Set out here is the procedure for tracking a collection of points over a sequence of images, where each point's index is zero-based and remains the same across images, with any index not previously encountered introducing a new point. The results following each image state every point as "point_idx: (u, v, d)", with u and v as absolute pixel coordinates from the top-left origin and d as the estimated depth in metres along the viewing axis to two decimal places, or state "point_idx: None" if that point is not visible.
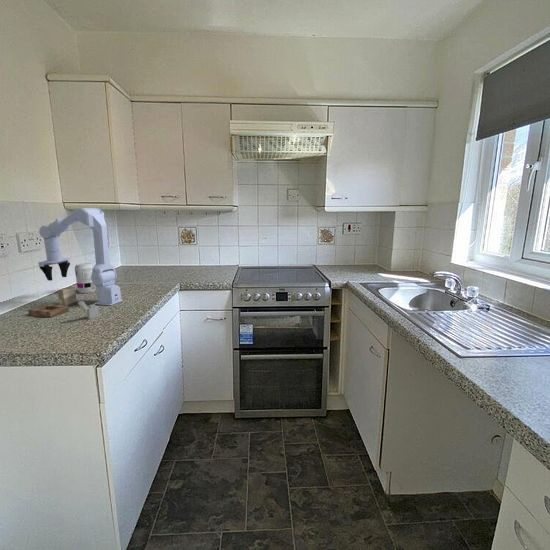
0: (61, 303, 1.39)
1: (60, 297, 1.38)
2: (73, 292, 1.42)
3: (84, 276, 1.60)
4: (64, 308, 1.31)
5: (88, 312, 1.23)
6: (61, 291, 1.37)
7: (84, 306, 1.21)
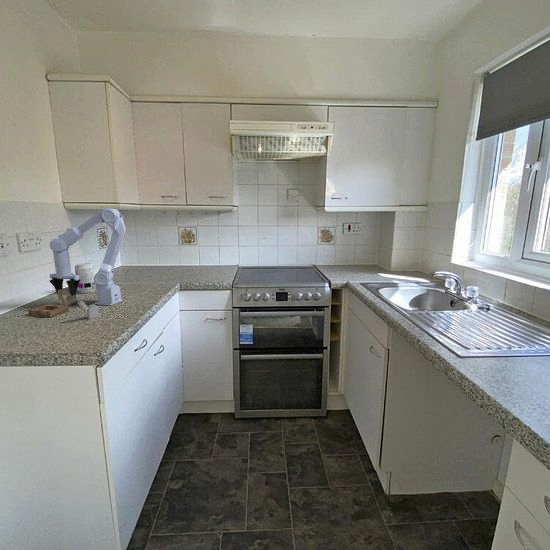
0: (61, 303, 1.39)
1: (60, 297, 1.38)
2: None
3: (84, 276, 1.60)
4: (64, 308, 1.31)
5: (88, 312, 1.23)
6: (61, 291, 1.37)
7: (84, 306, 1.21)
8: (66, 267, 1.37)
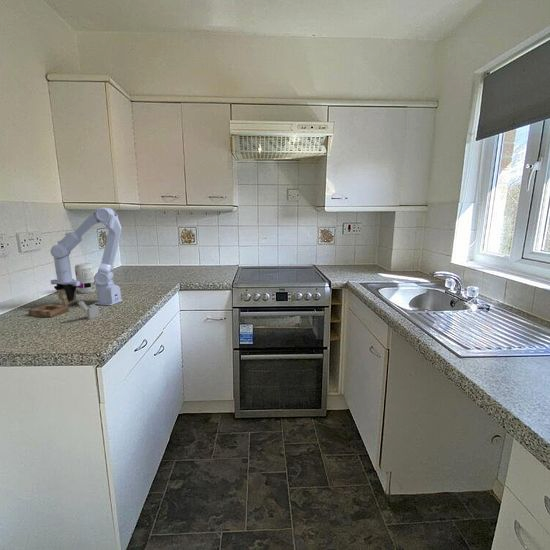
0: (61, 303, 1.39)
1: (60, 297, 1.38)
2: None
3: (84, 276, 1.60)
4: (64, 308, 1.31)
5: (88, 312, 1.23)
6: (61, 291, 1.37)
7: (84, 306, 1.21)
8: (67, 273, 1.37)
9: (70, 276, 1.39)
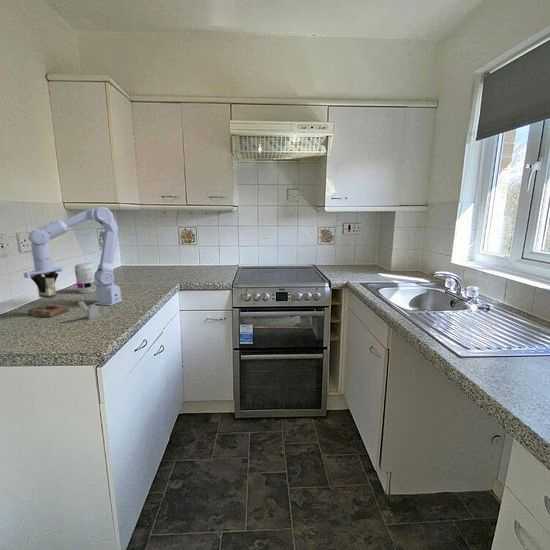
0: (51, 293, 1.28)
1: (50, 287, 1.28)
2: None
3: (84, 276, 1.60)
4: (64, 308, 1.31)
5: (88, 312, 1.23)
6: (51, 279, 1.28)
7: (84, 306, 1.21)
8: None
9: None
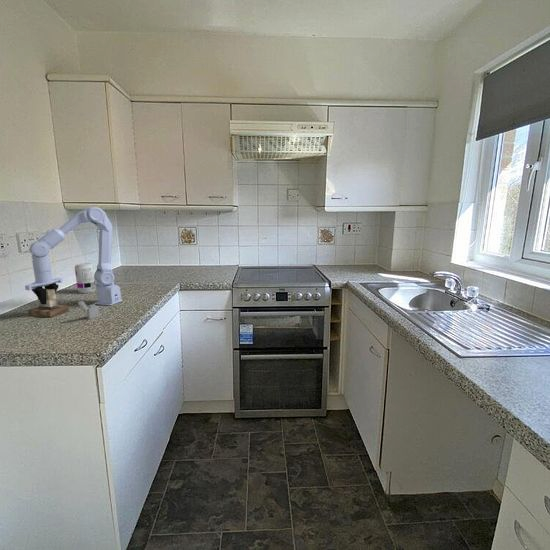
0: (52, 305, 1.29)
1: (51, 298, 1.28)
2: None
3: (84, 276, 1.60)
4: (64, 308, 1.31)
5: (88, 312, 1.23)
6: (52, 291, 1.29)
7: (84, 306, 1.21)
8: None
9: None
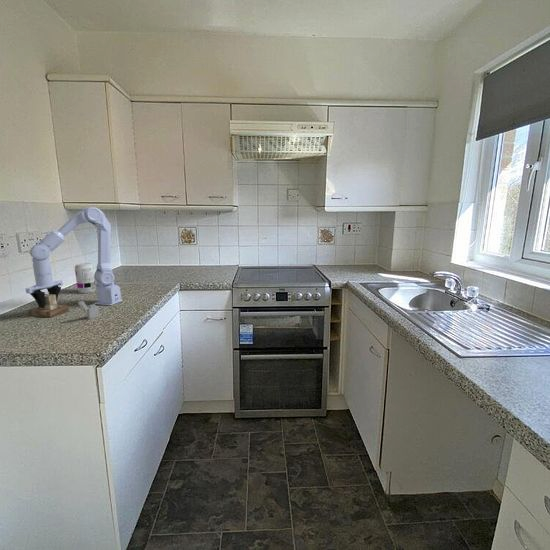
0: None
1: (52, 303, 1.29)
2: None
3: (84, 276, 1.60)
4: (64, 308, 1.31)
5: (88, 312, 1.23)
6: (53, 296, 1.29)
7: (84, 306, 1.21)
8: None
9: None
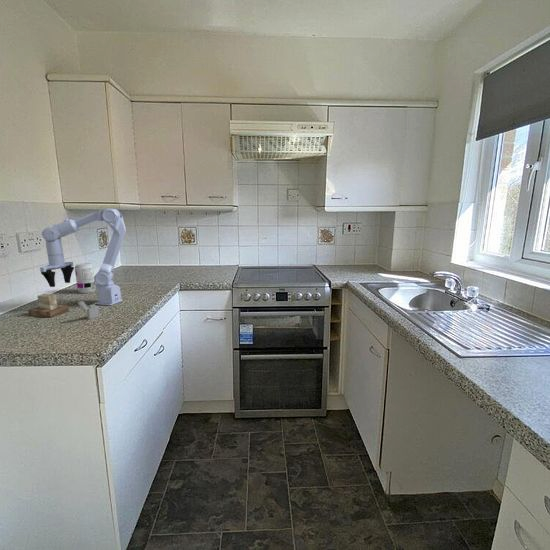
0: None
1: (52, 303, 1.29)
2: None
3: (84, 276, 1.60)
4: (64, 308, 1.31)
5: (88, 312, 1.23)
6: (53, 296, 1.29)
7: (84, 306, 1.21)
8: None
9: None
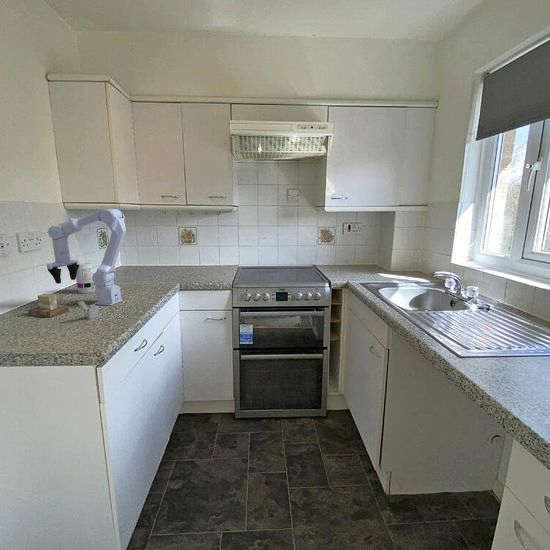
0: None
1: (52, 303, 1.29)
2: None
3: (84, 276, 1.60)
4: (64, 308, 1.31)
5: (88, 312, 1.23)
6: (53, 296, 1.29)
7: (84, 306, 1.21)
8: None
9: None
